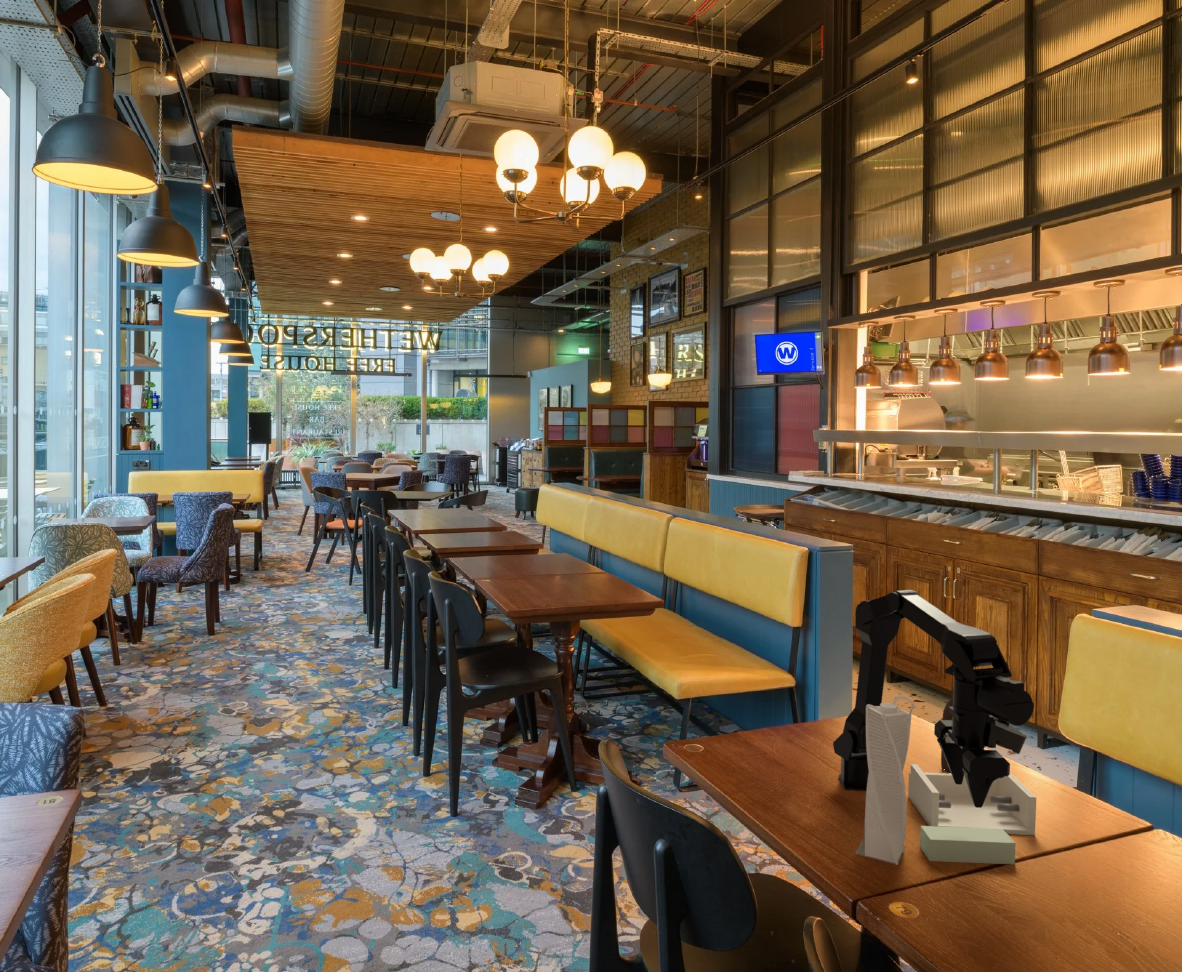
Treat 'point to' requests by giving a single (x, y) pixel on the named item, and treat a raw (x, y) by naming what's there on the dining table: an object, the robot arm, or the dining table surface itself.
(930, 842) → the shelf board
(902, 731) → the skyscraper
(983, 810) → the tray
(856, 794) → the dining table surface
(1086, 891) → the dining table surface
